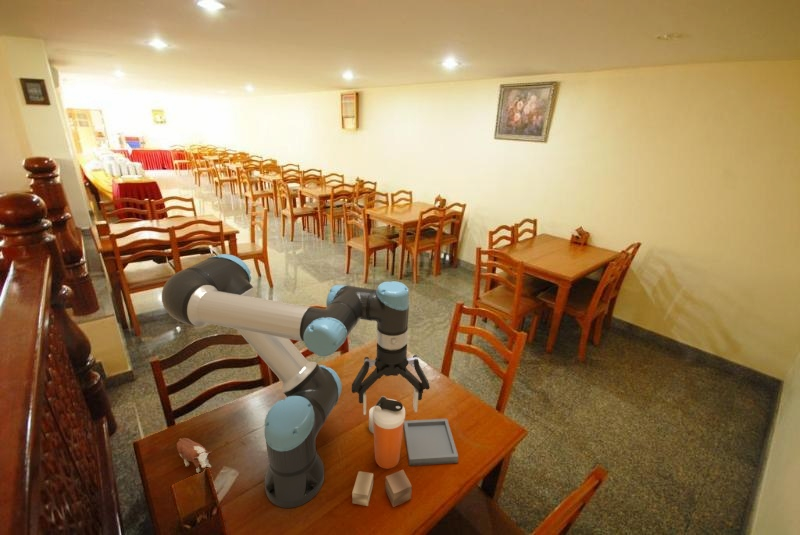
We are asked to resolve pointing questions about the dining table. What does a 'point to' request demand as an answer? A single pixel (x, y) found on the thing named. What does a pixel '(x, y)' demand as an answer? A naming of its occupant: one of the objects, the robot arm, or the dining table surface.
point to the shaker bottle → (388, 431)
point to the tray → (429, 442)
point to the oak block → (362, 488)
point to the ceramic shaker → (371, 420)
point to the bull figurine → (193, 453)
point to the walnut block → (398, 488)
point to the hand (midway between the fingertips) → (390, 409)
